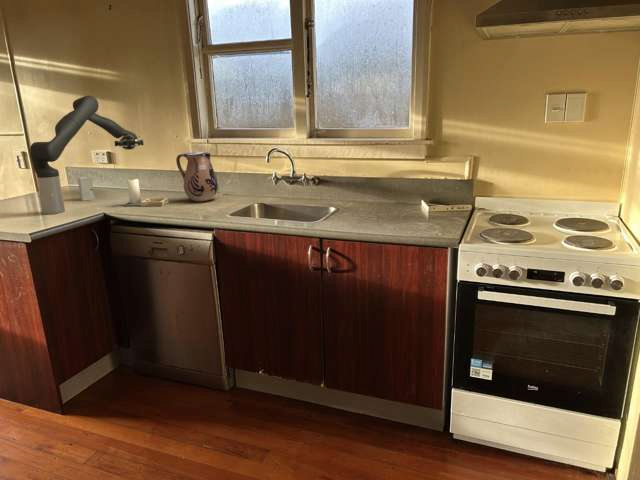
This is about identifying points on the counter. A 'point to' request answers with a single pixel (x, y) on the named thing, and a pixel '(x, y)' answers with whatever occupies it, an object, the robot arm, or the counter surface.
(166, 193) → the counter surface
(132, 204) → the tear pad
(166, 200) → the dispenser tray
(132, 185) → the white pillar candle
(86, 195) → the skincare box
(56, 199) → the robot arm
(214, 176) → the ceramic pitcher
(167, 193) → the counter surface
